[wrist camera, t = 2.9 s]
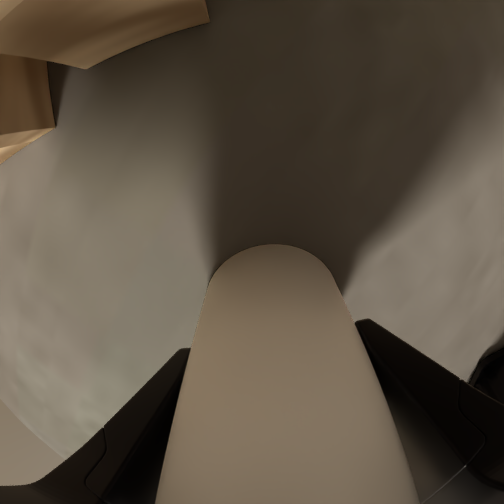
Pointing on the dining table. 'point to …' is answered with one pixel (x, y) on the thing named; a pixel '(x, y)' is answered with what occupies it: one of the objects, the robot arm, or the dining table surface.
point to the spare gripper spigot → (281, 395)
